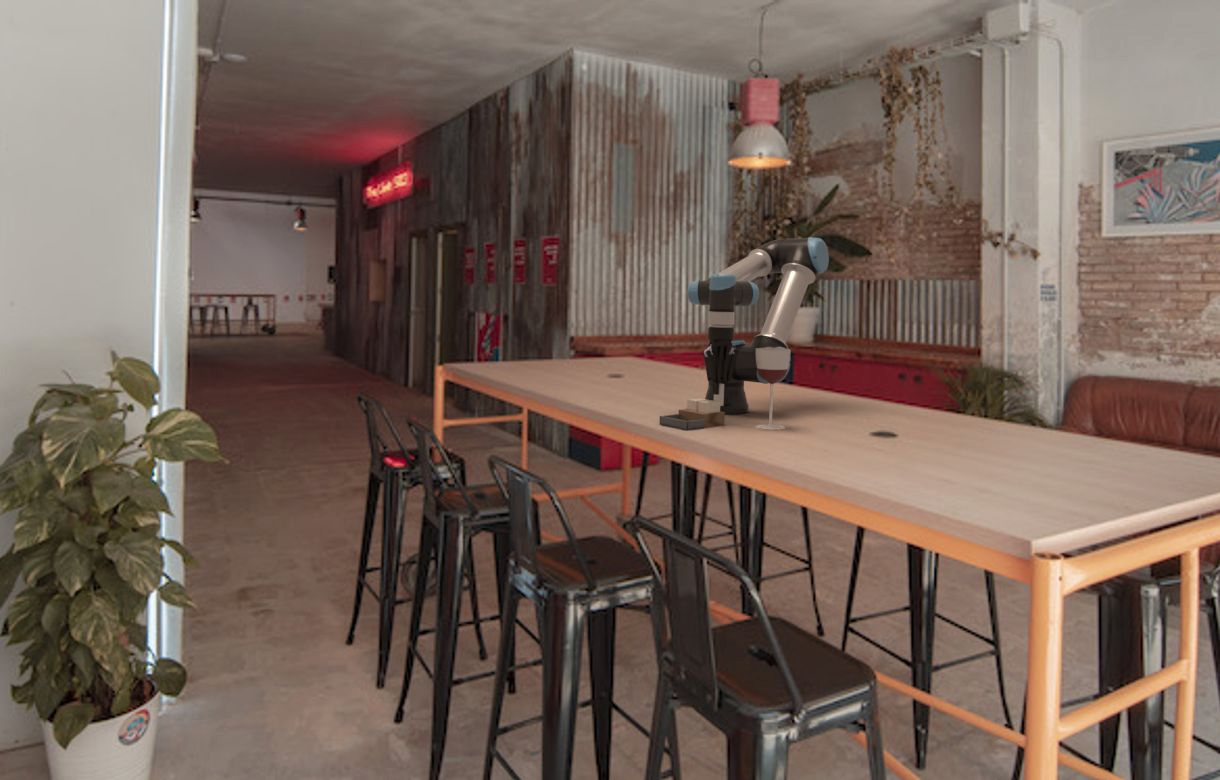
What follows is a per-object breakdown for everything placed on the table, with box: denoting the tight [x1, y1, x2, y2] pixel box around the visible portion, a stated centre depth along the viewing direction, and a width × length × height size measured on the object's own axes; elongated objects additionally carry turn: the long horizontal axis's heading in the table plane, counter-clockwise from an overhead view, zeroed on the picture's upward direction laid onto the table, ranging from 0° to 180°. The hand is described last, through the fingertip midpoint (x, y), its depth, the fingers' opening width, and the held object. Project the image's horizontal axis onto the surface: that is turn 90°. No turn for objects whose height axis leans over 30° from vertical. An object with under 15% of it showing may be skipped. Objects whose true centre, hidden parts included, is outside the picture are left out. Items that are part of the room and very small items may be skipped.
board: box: [678, 408, 726, 429], centre depth 252 cm, size 8×11×4 cm
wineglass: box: [755, 348, 792, 430], centre depth 247 cm, size 9×10×23 cm
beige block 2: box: [698, 400, 720, 413], centre depth 250 cm, size 5×4×3 cm
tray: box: [659, 413, 706, 431], centre depth 248 cm, size 7×12×3 cm, turn 37°
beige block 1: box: [686, 398, 709, 411], centre depth 254 cm, size 5×4×3 cm
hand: (718, 405), depth 252 cm, fingers closed
